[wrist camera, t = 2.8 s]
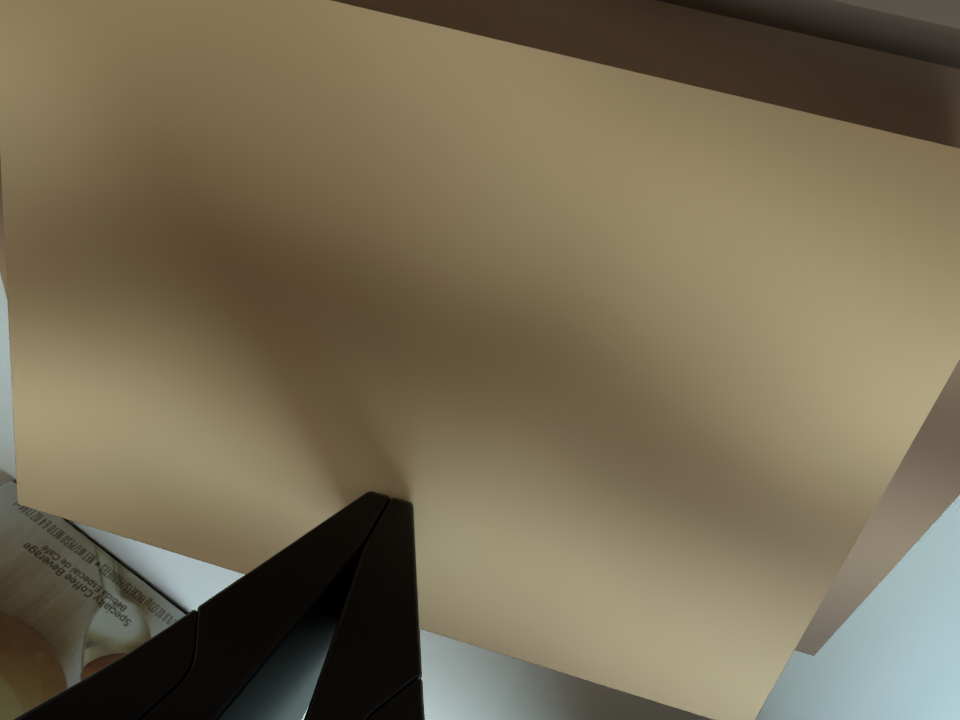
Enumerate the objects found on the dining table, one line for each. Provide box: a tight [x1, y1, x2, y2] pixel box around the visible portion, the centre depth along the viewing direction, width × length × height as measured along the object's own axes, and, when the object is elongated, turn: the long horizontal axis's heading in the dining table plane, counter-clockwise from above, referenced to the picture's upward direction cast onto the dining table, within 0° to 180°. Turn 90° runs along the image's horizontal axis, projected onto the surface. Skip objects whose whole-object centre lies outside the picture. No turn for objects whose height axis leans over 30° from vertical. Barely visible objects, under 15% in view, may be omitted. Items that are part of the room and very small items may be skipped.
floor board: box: [0, 0, 960, 656], centre depth 10 cm, size 16×22×3 cm
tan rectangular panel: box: [0, 0, 960, 720], centre depth 9 cm, size 10×15×2 cm, turn 78°
